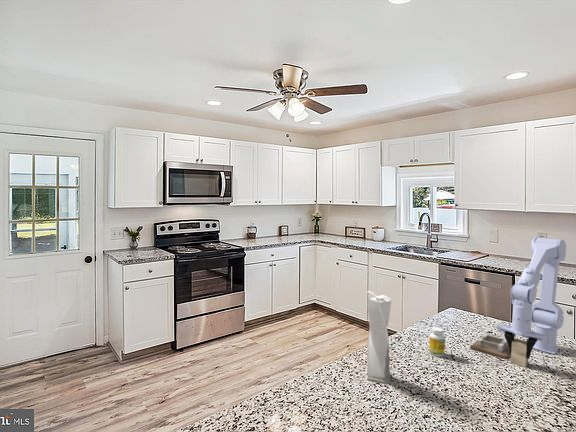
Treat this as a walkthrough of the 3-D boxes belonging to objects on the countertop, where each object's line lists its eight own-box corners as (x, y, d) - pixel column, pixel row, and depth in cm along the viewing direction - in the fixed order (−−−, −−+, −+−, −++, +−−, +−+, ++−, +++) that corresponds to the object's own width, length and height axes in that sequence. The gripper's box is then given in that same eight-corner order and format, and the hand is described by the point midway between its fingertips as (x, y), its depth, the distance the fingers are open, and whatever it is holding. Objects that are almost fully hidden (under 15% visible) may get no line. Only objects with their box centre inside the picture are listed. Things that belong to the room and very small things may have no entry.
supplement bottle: (434, 349, 139) (435, 325, 138) (447, 354, 134) (448, 329, 134) (426, 352, 136) (427, 328, 135) (438, 358, 131) (439, 332, 131)
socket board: (481, 338, 150) (481, 330, 149) (514, 347, 141) (515, 339, 141) (470, 348, 140) (470, 340, 140) (505, 359, 131) (505, 349, 131)
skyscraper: (362, 379, 115) (365, 294, 114) (366, 367, 123) (368, 288, 121) (389, 384, 113) (392, 297, 111) (391, 372, 120) (394, 290, 118)
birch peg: (513, 359, 131) (515, 338, 131) (527, 363, 128) (529, 341, 128) (510, 363, 128) (511, 341, 128) (525, 367, 125) (526, 345, 125)
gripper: (495, 315, 129) (494, 352, 130) (544, 326, 119) (542, 366, 120) (501, 311, 134) (499, 346, 135) (548, 321, 124) (546, 359, 125)
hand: (519, 355), depth 128 cm, fingers closed on birch peg, 4 cm apart
